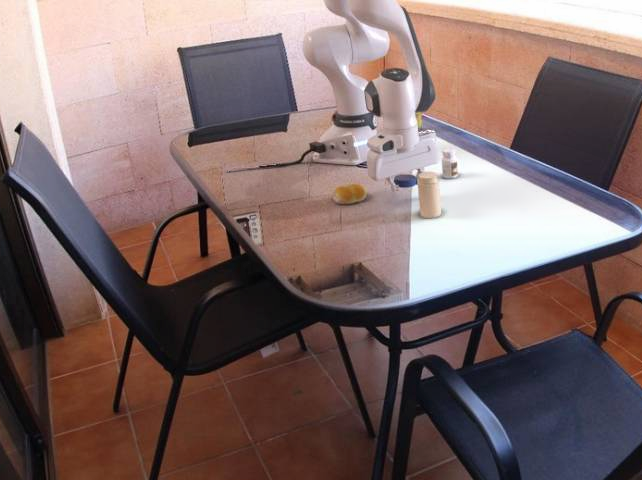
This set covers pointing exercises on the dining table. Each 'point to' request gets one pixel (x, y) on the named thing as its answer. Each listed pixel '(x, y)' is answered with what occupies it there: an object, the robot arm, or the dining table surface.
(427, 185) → the beige cylinder
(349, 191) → the bread roll
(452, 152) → the pill bottle
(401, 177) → the lid
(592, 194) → the dining table surface
